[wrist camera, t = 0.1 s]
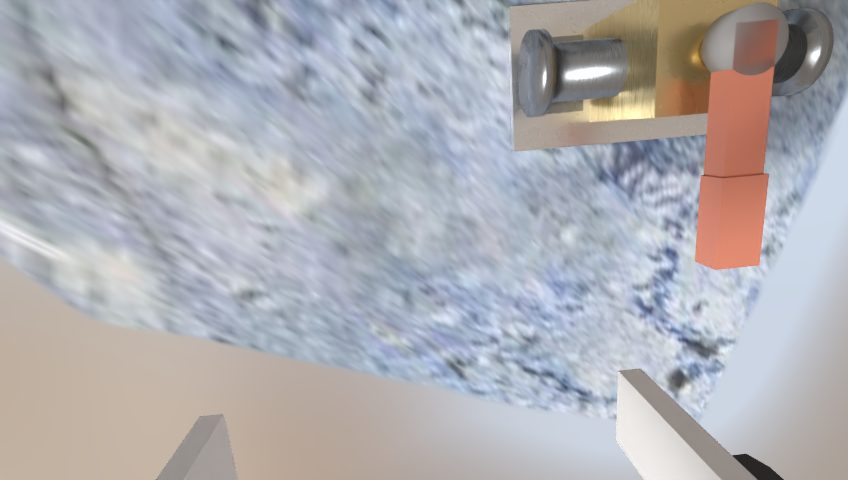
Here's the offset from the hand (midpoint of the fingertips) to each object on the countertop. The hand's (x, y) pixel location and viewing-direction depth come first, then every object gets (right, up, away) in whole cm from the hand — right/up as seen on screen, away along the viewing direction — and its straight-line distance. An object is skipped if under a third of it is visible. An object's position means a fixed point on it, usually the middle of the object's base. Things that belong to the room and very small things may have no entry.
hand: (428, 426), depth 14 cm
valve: (+18, +21, +25) cm, 38 cm away
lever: (+20, +13, +14) cm, 27 cm away
